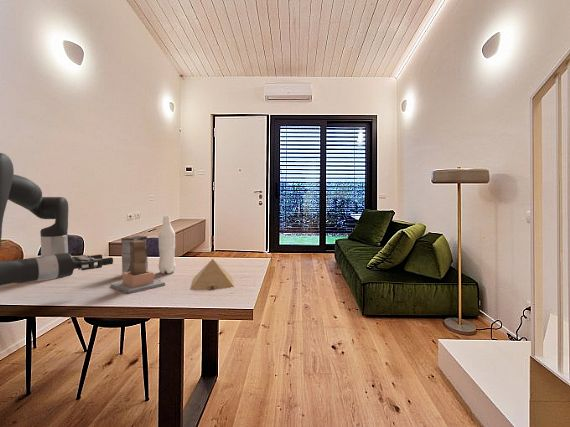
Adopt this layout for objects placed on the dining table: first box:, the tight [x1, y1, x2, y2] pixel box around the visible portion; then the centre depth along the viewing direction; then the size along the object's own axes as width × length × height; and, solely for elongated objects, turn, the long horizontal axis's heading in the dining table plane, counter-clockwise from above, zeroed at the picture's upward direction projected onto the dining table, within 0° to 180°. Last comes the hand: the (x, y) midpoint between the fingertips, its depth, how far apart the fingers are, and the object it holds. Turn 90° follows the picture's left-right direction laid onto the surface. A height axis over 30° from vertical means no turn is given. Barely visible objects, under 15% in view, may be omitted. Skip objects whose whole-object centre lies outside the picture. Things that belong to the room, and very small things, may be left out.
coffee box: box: [120, 235, 149, 273], centre depth 143 cm, size 9×6×16 cm
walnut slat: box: [130, 240, 146, 275], centre depth 124 cm, size 4×4×16 cm
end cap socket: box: [110, 270, 166, 294], centre depth 124 cm, size 14×14×5 cm
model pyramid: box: [189, 258, 235, 290], centre depth 129 cm, size 17×17×10 cm
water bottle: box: [157, 215, 177, 275], centre depth 145 cm, size 7×7×25 cm
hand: (107, 258), depth 115 cm, fingers open, 8 cm apart
